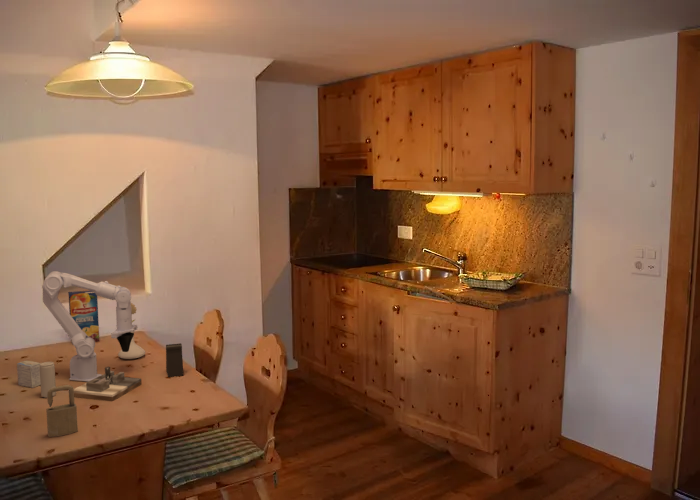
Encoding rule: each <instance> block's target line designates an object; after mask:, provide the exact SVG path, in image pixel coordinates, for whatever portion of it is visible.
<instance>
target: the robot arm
mask: <svg viewBox="0 0 700 500" xmlns="http://www.w3.org/2000/svg"><path fill="white" fill-rule="evenodd" d="M41 286H42V287H41V289H42V303H43V304H44V306H46V308H47V309H48V311H49V312H50V313H51V314H52V316H53V317H54V319H55V320H56V322H57V323H58V324H59V325H60V326H61V328H62V329H63V330H64V332H65V333H66V335H68V337H69V338H70V341H71V340H72V342H73V345H72V346H73V347H74V348H75V352H76V354H75V355H73V356H71V358H70V360H69V377H70V378H69V377H68V381H75V382H76V381H77V382H85V383H87V382H89V381H91V380H93V379H95V378H97V377H99V376H101V375H103V374H101V373H98V366H97V365H98V363H97V361H98V360H97V353H96V352H95V348H96V342H95V341H94V339H93V338H91V337H89V336H87V334H86V333H85V332H83V331H82V330H81V328H80V327H79V326H78V324H77V323H76V322H75V320H74V319H73V318H72V316H71V315H70V311H68V310H67V309H66V307H65V306H64V305H63V303H62V302H61V300H60V299H59V293H60V290H61V288H62V286H63V288H69V287H78V288H81V289H85V290H91V291H94V292H95V293H96V295H97V297H101V298H105V299H109V300H110V301H115V302H116V306H115V316H116V319H115V320H116V329H115V330H114V331H113V332H112V333H111V334H110V335H111V336H110V337H111V339H116V340H117V341H118V343H119V345H120V348H121V350H122V352H128V351H129V348H130V343H131V340H132V338H133V336H134V337H135V331H136V330H138V324H133V322H132V320H133V317H132V315H133V314H132V310H131V303H132V301H131V300H132V292H131V290H130V289H129V288H128V287H126V286H121V285H119V284H118V285H115V284H111V283H109V281H108V280H105V281H100V282H95V281H91V280H88V279H85V278H82V277H79V276H76V275H74V274H71V273H67V272H60V271H57V270H55V271H54V270H53V271H51V272H49V273H48V275H47V276H46V277H45V279H44V280H43V283H42V285H41ZM133 331H134V333H131V332H133ZM72 342H71V343H72Z"/></svg>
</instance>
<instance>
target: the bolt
mask: <svg viewBox="0 0 700 500" xmlns="http://www.w3.org/2000/svg"><path fill="white" fill-rule="evenodd" d="M110 371H111V367H110V366H105V367H104V374H105V378H103V379H101V380H99V381H97V382H95V383H100V382H102V381H104V380H109V384H110V383H111V382H112V377H111V375H110Z"/></svg>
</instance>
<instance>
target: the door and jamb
mask: <svg viewBox="0 0 700 500" xmlns="http://www.w3.org/2000/svg"><path fill="white" fill-rule="evenodd" d="M110 375H111V377H112V382H111V383H110V384H109V380H104V381H102V382H100V383H95V382H97V381H99V380H101V379H103V378H105V373H104V374H102V375H101V376H99V377H97V378H95V379H93V380H91V381H89V382H85V383H83V384H82V385H80V386H77V387H75V388H73V389H74V398H78V399H87V400H97V401H107V402H113V401H115V400H117V399H118V398H120V397H122V396H124V395H126V394H127V393H129V392H131V391H132V390H134V389H136V388H138V387H139V386H141V385H142V378H141V377H130V376H125V372H124V371H120V372H118V373H116V374H115V371H114V370H113V371H112V370H110Z"/></svg>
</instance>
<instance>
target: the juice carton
mask: <svg viewBox="0 0 700 500" xmlns="http://www.w3.org/2000/svg"><path fill="white" fill-rule="evenodd" d="M67 294H68V308H69V309H68V310H69V311H68V312H69V314H70V315H71V316H72V318H73V319H74V320H75V322H76V323H77V324H78V326H79V327H80V328H81V330H82V331H83V332H85V333H86V334H87V336H89V337H91V338H93V339H94V341H95V343H98V342H100V330H99V329H100V327H99V325H100V323H99V306H98V305H99V304H98V296H97V295H96V293H95V292H94V291H91V290H88V289H85V290H79V291H78V290H77V291H76V290H75V291H68V293H67ZM70 342H71V344H72V346H74V345H73V342H72V340H71V339H70Z"/></svg>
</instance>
